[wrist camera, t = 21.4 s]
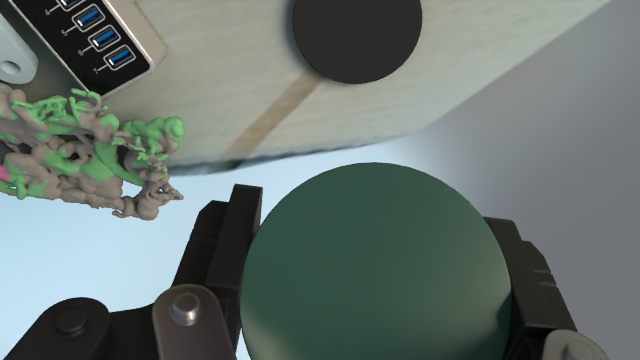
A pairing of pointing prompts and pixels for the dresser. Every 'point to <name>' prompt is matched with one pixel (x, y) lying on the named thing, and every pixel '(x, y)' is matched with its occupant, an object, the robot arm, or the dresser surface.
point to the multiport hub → (96, 40)
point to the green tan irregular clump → (85, 154)
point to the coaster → (356, 36)
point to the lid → (375, 272)
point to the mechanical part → (15, 56)
